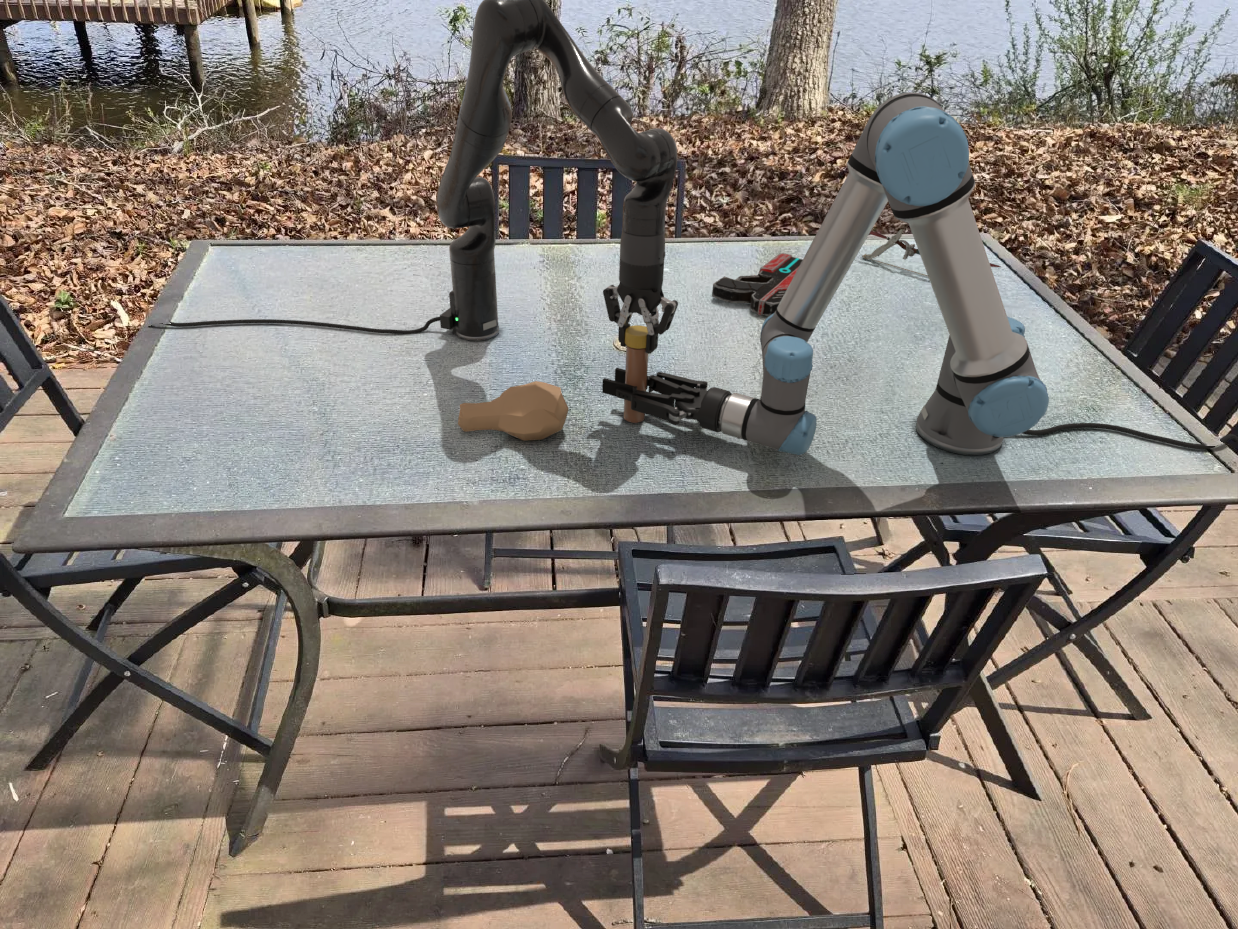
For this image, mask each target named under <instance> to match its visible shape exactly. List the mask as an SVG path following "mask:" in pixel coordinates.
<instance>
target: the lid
mask: <svg viewBox="0 0 1238 929" xmlns="http://www.w3.org/2000/svg"><path fill="white" fill-rule="evenodd" d="M647 334H648V330H647V326H646V325H639V324H635V325H630V327H628V328H626V332H625V344H626V345H627V346H629V347H631V348H636V349H641V348H646V339H647Z"/></svg>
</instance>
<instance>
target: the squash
mask: <svg viewBox="0 0 1238 929" xmlns="http://www.w3.org/2000/svg"><path fill="white" fill-rule="evenodd" d="M569 409H570V408H569V405H568V404H567V402H566V399H565V397H564V395H563V393H562V389H561V387H560V386H557V385H554V384H550V383H548V382H544V381H537V380H535V381H531V382H528V383H525V384H520V385H515V386H509V387H508V388H507V389H506V390H504V391H502V393H501V394H500V395H499V396H498V397H496V398H494V399H493V400H490V401H484V402H483V401H482V402H476V403H474V402H463V403H460V404H459V413H458V420H457V426H458V427H460V429H461V430H462V431H463V432H464V433H465V432H475V431H486V430H487V431H488V430H492V431H498V432H504V433H506V434H508V435H509V436H511V437H514V438H516V439H519V440H521V441H523V442H524V441H525V442H526V441H541V440H544V439H546V438H549V437H550V436H552V435H554V434H557V433H559V432H561V431H562V430H563V428H564V426H565V424H566V421H567V418H568V413H569Z"/></svg>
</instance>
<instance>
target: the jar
mask: <svg viewBox="0 0 1238 929" xmlns="http://www.w3.org/2000/svg"><path fill="white" fill-rule="evenodd" d="M625 347H626V348H625V369H624V370H625V384H628V385H631V386H637V390H640V391H646V392H647V390H648V386H647V376H648V370H649V369H648V368H649V354H648V353H646V348H641V349H636V348H631V347H629V346H627V345H626V346H625ZM646 389H647V390H646ZM623 419H624V420H625V421H626V422H629V423H633V424H635V423H636V424H637V423H641V422H643V421H644V420H646V414H644V413H641V412H638V411H634V410H632V409H631V401H628V400H624V399H623Z"/></svg>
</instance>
